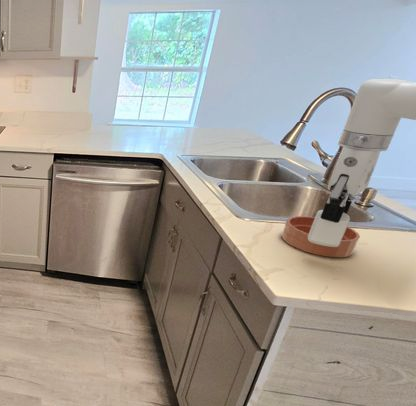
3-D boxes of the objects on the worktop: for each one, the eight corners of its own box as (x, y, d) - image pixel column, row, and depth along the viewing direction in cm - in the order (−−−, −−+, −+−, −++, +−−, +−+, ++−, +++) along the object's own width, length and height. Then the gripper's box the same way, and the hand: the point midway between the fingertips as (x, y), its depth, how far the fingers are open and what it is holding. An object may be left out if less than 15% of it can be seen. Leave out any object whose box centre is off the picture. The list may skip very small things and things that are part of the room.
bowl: (359, 247, 95) (366, 230, 93) (341, 264, 88) (349, 247, 86) (292, 227, 106) (298, 211, 104) (272, 241, 99) (278, 225, 97)
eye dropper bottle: (331, 250, 84) (352, 202, 79) (303, 239, 89) (320, 194, 84) (341, 245, 86) (362, 199, 81) (313, 235, 90) (330, 190, 86)
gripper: (378, 150, 70) (342, 234, 77) (399, 137, 78) (365, 214, 86) (328, 143, 76) (299, 221, 83) (352, 131, 84) (324, 203, 92)
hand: (333, 217), depth 84 cm, fingers closed on eye dropper bottle, 3 cm apart
